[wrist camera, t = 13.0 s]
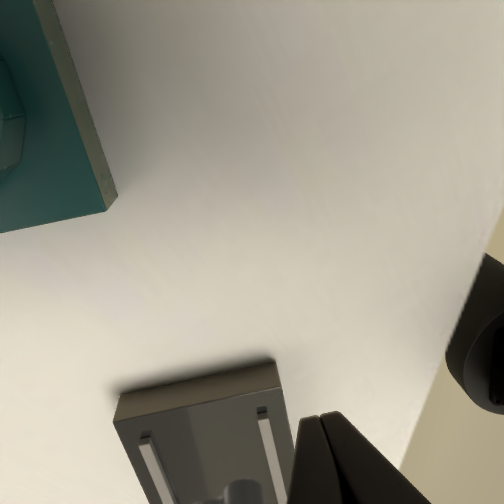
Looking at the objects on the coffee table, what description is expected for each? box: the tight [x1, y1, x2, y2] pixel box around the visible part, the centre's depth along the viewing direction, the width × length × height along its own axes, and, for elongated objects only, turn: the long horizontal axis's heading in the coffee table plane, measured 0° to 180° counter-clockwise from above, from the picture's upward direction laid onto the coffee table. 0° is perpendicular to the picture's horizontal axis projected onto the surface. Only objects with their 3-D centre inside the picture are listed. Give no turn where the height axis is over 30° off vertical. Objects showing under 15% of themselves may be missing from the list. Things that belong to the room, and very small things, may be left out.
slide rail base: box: [113, 362, 295, 504], centre depth 25 cm, size 9×18×2 cm, turn 11°
